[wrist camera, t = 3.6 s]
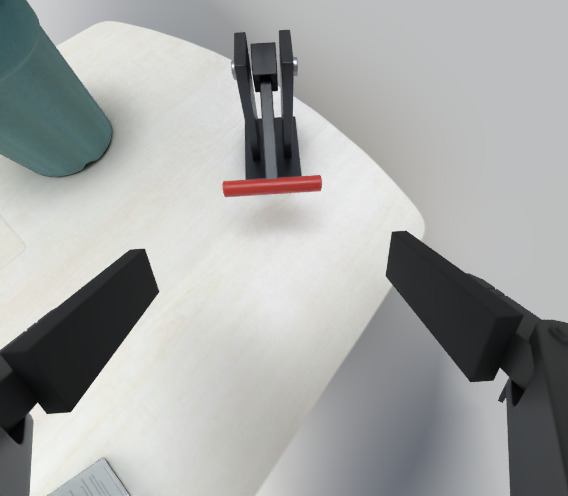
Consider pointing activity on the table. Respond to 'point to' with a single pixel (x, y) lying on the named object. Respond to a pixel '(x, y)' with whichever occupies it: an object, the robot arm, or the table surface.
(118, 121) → the table surface
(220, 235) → the table surface
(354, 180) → the table surface
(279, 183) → the lever
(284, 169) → the bracket
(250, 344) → the table surface
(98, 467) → the small box
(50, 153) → the flower pot
